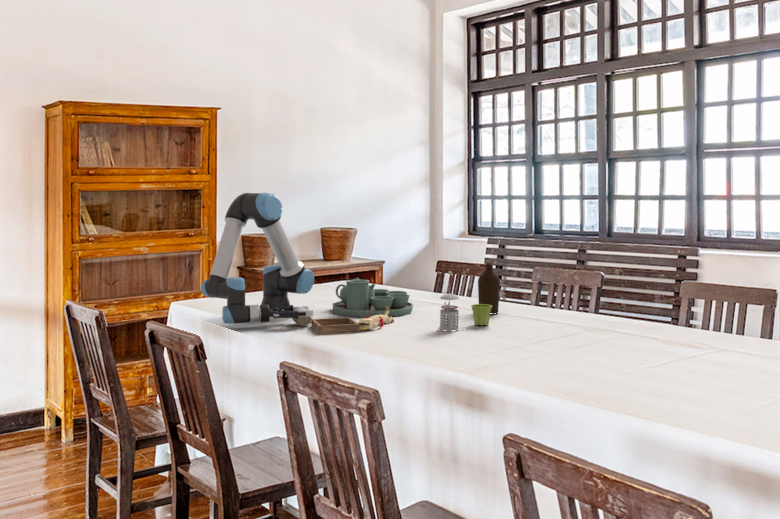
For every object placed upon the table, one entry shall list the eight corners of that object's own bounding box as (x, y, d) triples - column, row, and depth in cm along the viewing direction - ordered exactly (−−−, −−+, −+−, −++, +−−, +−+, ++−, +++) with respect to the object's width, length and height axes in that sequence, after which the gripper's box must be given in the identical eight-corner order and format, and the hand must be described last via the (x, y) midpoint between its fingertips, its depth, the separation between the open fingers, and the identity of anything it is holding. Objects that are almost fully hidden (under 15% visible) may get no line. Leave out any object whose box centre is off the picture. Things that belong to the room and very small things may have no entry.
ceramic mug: (295, 327, 295) (295, 309, 295) (291, 324, 303) (291, 306, 302) (319, 326, 299) (319, 309, 298) (315, 323, 306) (315, 306, 306)
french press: (463, 328, 295) (463, 270, 293) (456, 333, 285) (457, 273, 282) (441, 326, 299) (441, 269, 296) (433, 331, 288) (434, 272, 286)
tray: (311, 326, 297) (311, 319, 296) (349, 324, 302) (349, 317, 301) (319, 334, 280) (319, 326, 280) (359, 332, 286) (359, 324, 285)
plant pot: (466, 325, 302) (466, 305, 302) (478, 322, 309) (479, 303, 309) (483, 327, 296) (484, 307, 295) (496, 325, 303) (496, 305, 302)
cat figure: (378, 324, 312) (351, 328, 289) (379, 304, 311) (352, 308, 289) (398, 326, 307) (372, 331, 285) (399, 306, 307) (373, 310, 285)
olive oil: (502, 314, 330) (503, 262, 328) (481, 315, 328) (481, 263, 326) (495, 311, 340) (496, 260, 338) (474, 311, 339) (475, 261, 336)
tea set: (414, 318, 320) (415, 283, 318) (328, 318, 320) (328, 283, 318) (411, 305, 359) (412, 274, 358) (335, 305, 359) (335, 273, 358)
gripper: (256, 317, 306) (305, 315, 313) (263, 326, 284) (315, 324, 291) (256, 300, 305) (305, 298, 312) (262, 308, 283) (315, 306, 290)
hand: (310, 311), depth 301 cm, fingers open, 10 cm apart
